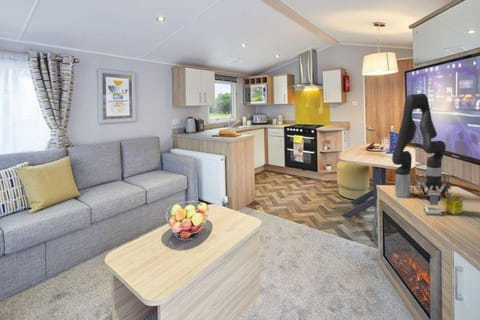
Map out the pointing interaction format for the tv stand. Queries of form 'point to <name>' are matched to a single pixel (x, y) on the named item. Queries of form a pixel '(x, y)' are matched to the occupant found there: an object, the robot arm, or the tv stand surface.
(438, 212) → the socket board
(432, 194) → the plug
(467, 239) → the tv stand surface
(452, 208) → the supplement box
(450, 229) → the tv stand surface
